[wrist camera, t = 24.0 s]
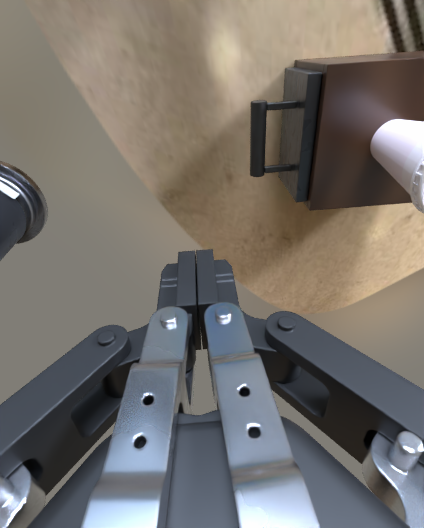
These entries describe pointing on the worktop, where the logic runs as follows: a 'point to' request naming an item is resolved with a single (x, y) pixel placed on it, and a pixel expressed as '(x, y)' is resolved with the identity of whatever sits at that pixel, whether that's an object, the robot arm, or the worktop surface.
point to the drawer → (289, 131)
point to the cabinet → (360, 125)
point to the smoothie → (402, 155)
